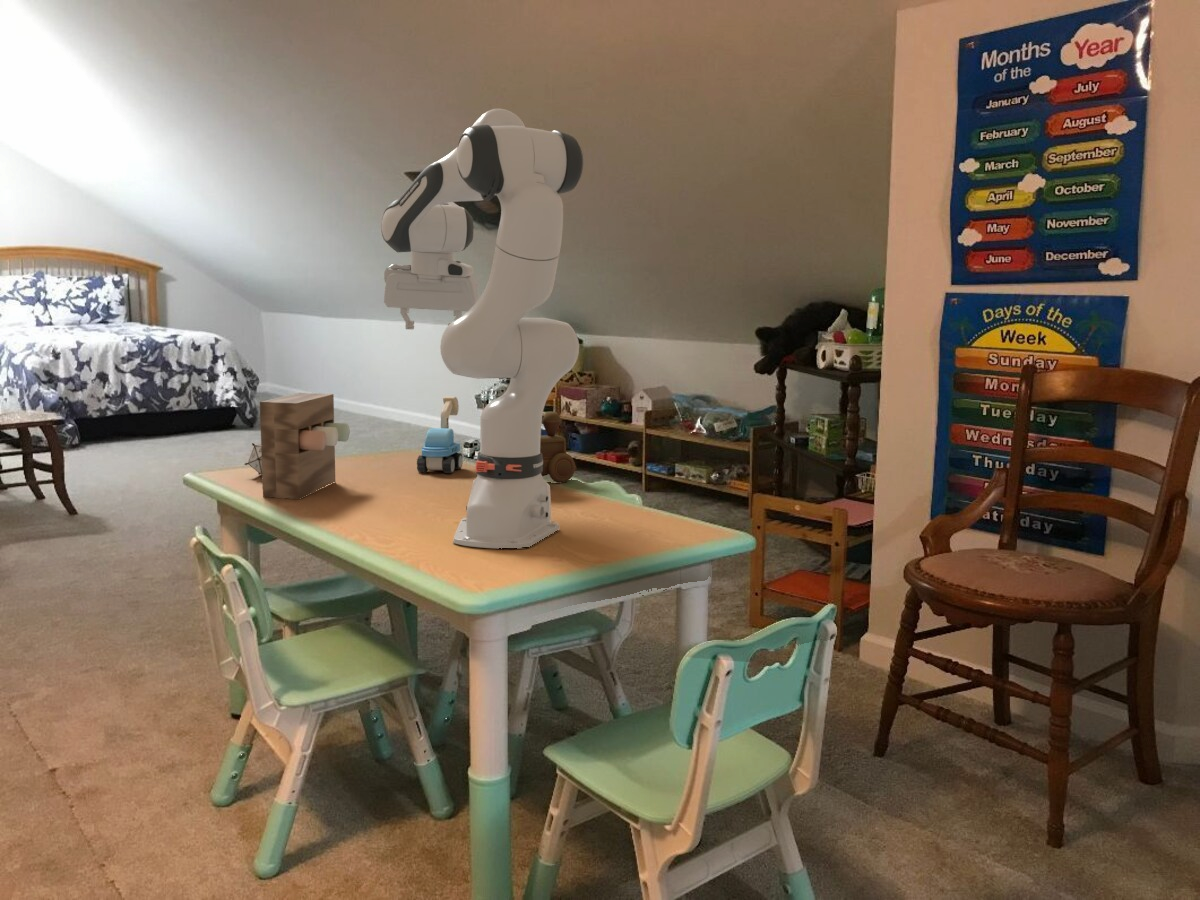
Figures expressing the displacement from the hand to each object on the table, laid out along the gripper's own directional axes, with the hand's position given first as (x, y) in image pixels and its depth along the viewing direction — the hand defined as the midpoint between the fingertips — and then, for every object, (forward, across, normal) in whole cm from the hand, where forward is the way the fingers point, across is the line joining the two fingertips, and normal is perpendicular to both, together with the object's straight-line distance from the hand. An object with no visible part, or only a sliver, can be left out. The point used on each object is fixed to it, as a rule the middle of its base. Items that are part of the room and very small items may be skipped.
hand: (431, 330), depth 214 cm
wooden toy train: (+35, +22, +7) cm, 42 cm away
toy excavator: (+36, -1, +19) cm, 41 cm away
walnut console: (+35, -26, -11) cm, 45 cm away
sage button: (+25, -20, -5) cm, 33 cm away
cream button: (+25, -21, -11) cm, 34 cm away
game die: (+36, -39, +2) cm, 53 cm away
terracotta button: (+24, -21, -17) cm, 37 cm away
